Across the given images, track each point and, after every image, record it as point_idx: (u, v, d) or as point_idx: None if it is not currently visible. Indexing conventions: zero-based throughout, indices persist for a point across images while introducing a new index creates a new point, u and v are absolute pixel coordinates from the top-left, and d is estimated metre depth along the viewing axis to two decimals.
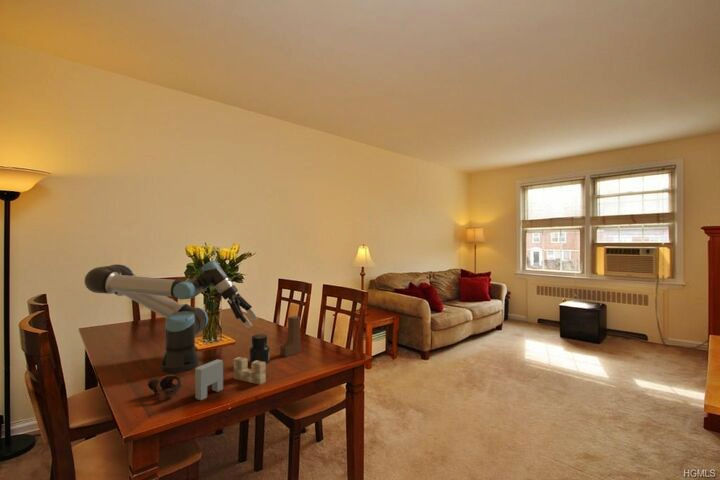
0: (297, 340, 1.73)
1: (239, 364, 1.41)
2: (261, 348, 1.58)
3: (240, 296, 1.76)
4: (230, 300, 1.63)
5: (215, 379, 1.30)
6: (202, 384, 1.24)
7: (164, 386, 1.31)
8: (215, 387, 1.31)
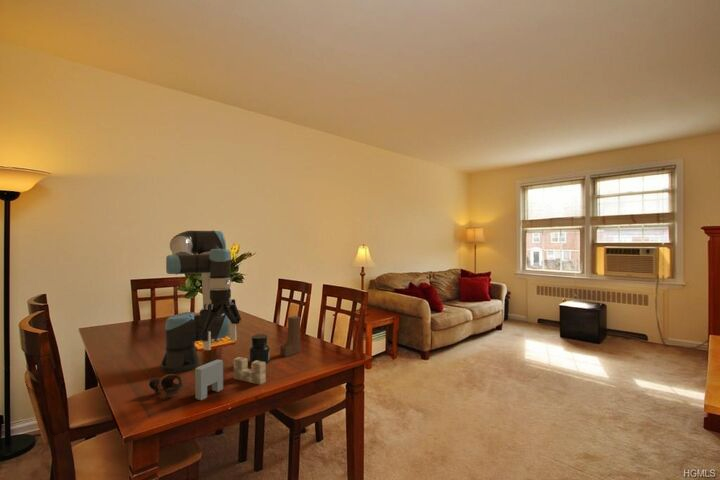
0: (297, 340, 1.73)
1: (239, 364, 1.41)
2: (261, 348, 1.58)
3: (233, 304, 1.38)
4: (207, 306, 1.26)
5: (215, 379, 1.30)
6: (202, 384, 1.24)
7: (165, 385, 1.31)
8: (215, 387, 1.31)
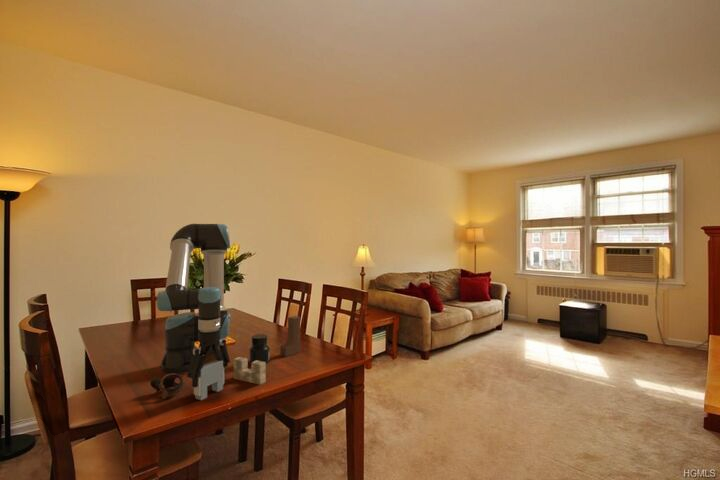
0: (297, 340, 1.73)
1: (239, 364, 1.41)
2: (261, 348, 1.58)
3: (223, 345, 1.34)
4: (194, 352, 1.23)
5: (215, 379, 1.30)
6: (202, 384, 1.24)
7: (166, 385, 1.32)
8: (215, 387, 1.31)
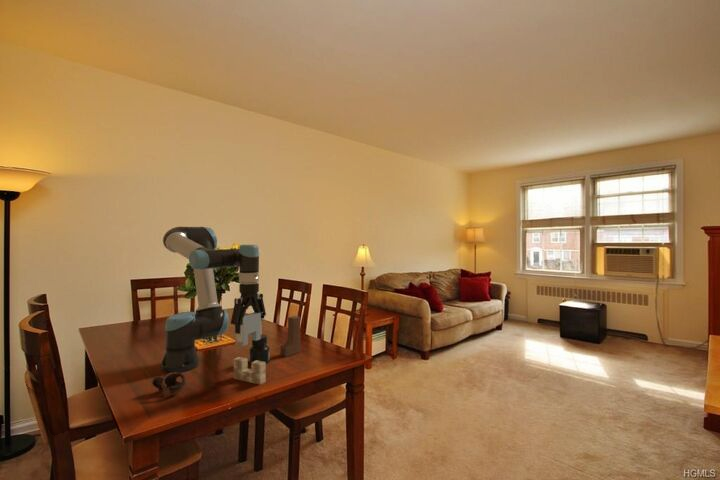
0: (297, 340, 1.73)
1: (239, 364, 1.41)
2: (261, 348, 1.58)
3: (261, 298, 1.45)
4: (237, 301, 1.34)
5: (254, 329, 1.41)
6: (244, 331, 1.36)
7: (168, 384, 1.33)
8: (254, 336, 1.43)
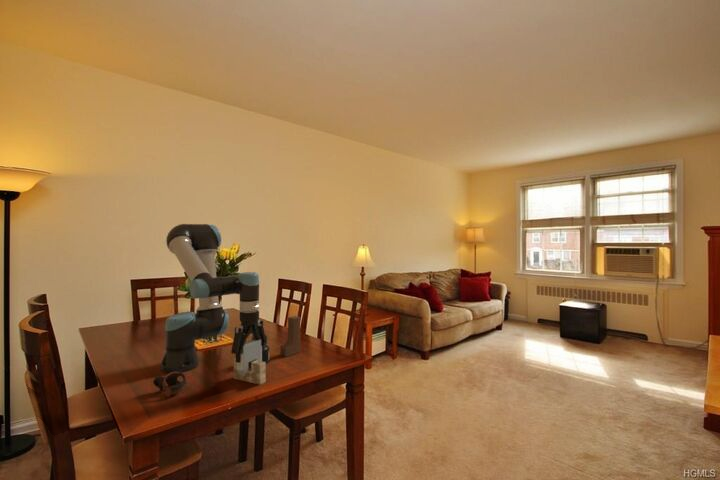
0: (297, 340, 1.73)
1: None
2: None
3: (261, 325, 1.45)
4: (237, 330, 1.34)
5: (254, 356, 1.41)
6: (244, 360, 1.36)
7: (169, 383, 1.33)
8: None
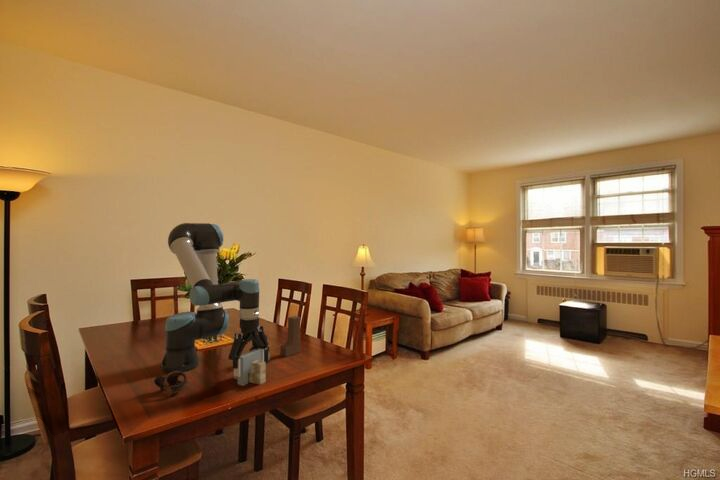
0: (297, 340, 1.73)
1: None
2: None
3: (261, 331, 1.46)
4: (237, 336, 1.34)
5: None
6: (244, 371, 1.36)
7: (170, 383, 1.34)
8: None
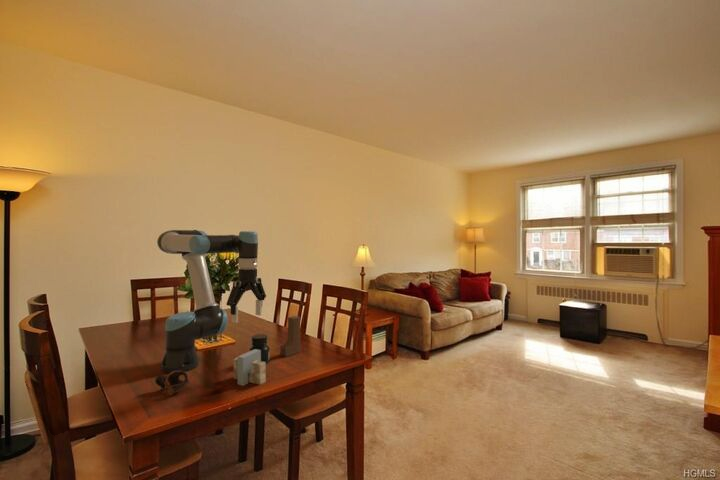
0: (297, 340, 1.73)
1: None
2: (261, 348, 1.58)
3: (259, 282, 1.50)
4: (235, 283, 1.39)
5: None
6: (244, 371, 1.36)
7: (171, 382, 1.34)
8: None
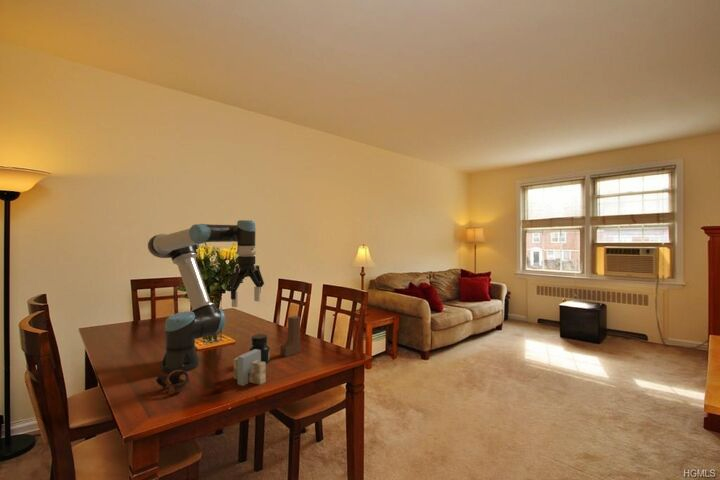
0: (297, 340, 1.73)
1: None
2: (261, 348, 1.58)
3: (257, 269, 1.57)
4: (235, 269, 1.46)
5: None
6: (244, 371, 1.36)
7: (172, 381, 1.35)
8: None
